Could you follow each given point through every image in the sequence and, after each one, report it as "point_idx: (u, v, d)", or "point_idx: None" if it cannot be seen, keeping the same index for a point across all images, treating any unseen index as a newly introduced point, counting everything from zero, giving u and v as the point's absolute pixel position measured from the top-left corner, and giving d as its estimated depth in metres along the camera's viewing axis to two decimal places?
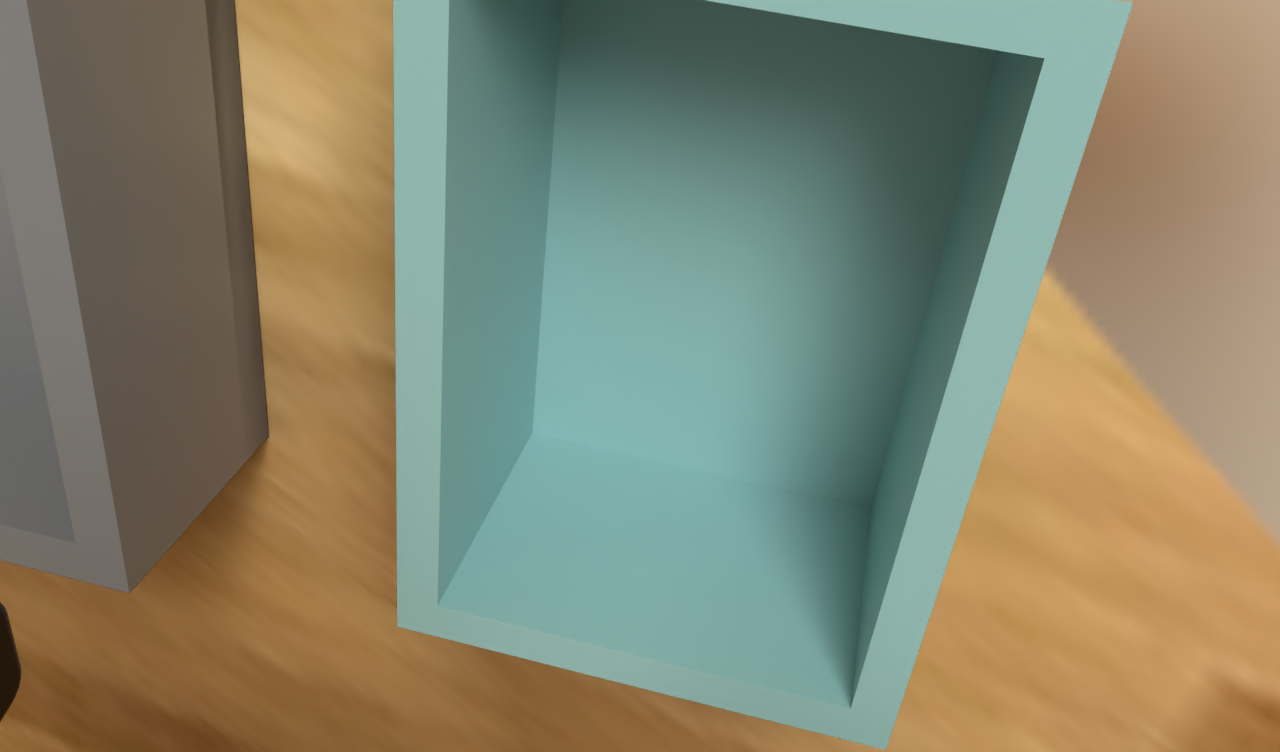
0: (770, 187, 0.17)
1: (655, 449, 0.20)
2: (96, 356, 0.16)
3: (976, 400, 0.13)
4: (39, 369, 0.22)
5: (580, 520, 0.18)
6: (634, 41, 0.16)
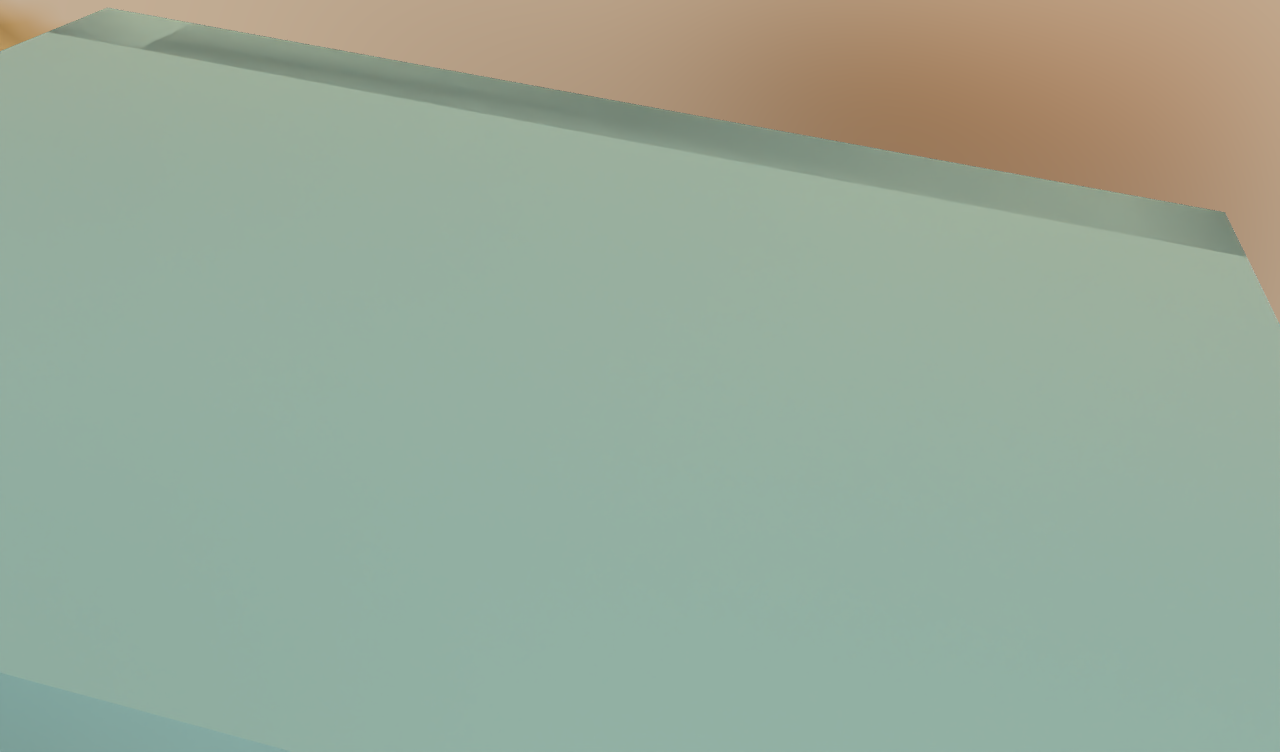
0: None
1: None
2: None
3: None
4: None
5: None
6: None
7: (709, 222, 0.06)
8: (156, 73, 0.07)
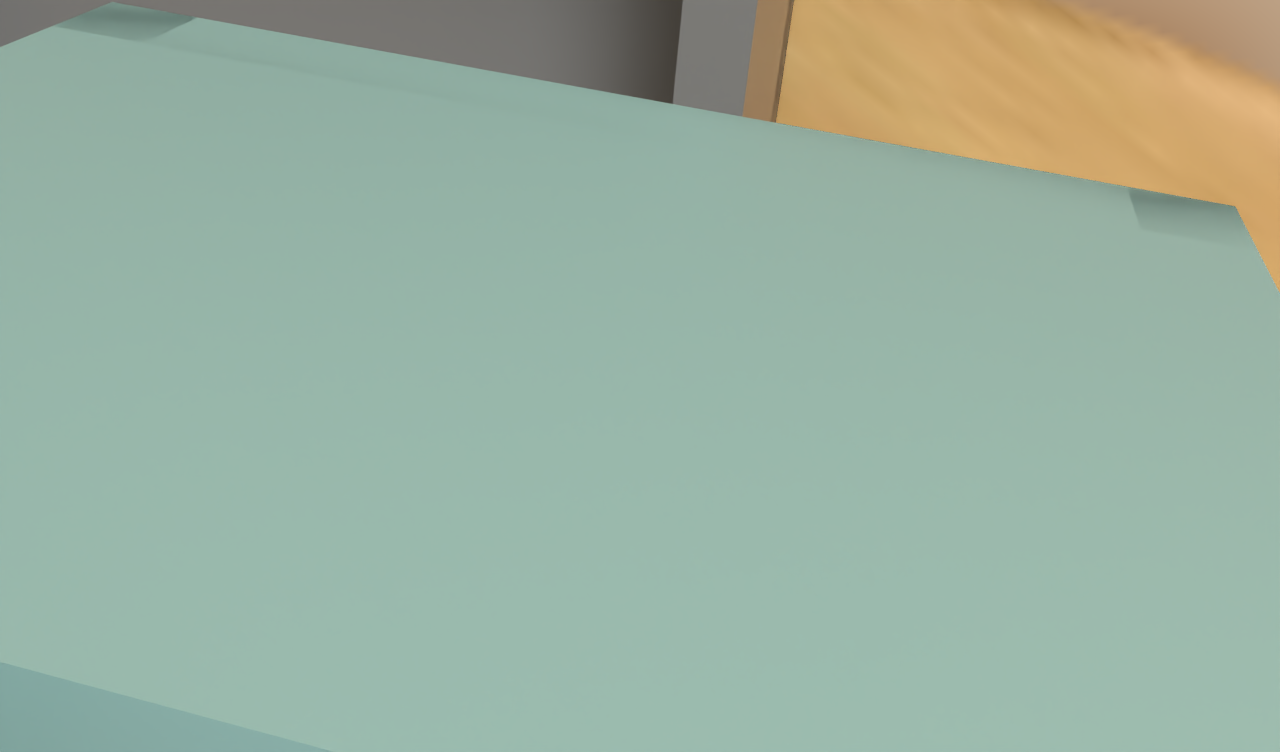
0: None
1: None
2: None
3: None
4: None
5: None
6: None
7: (718, 215, 0.06)
8: (162, 67, 0.07)
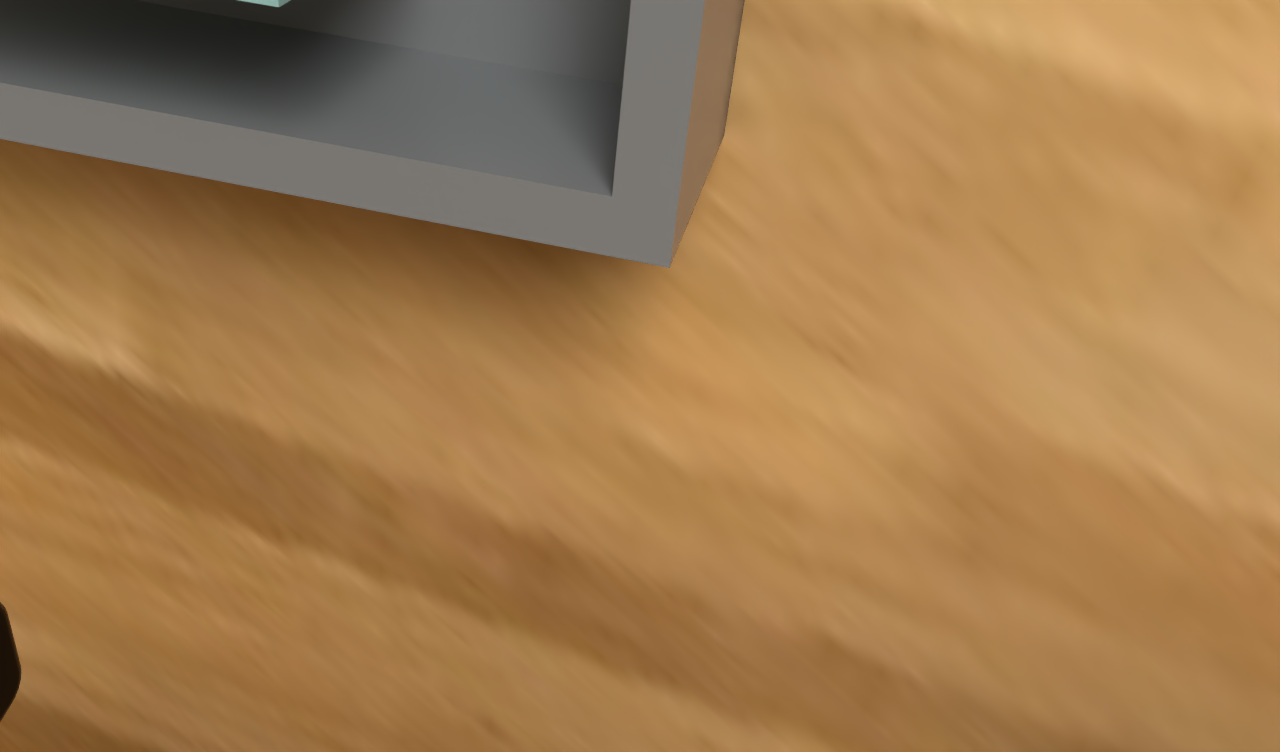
0: None
1: None
2: None
3: None
4: (455, 44, 0.17)
5: None
6: None
7: None
8: None
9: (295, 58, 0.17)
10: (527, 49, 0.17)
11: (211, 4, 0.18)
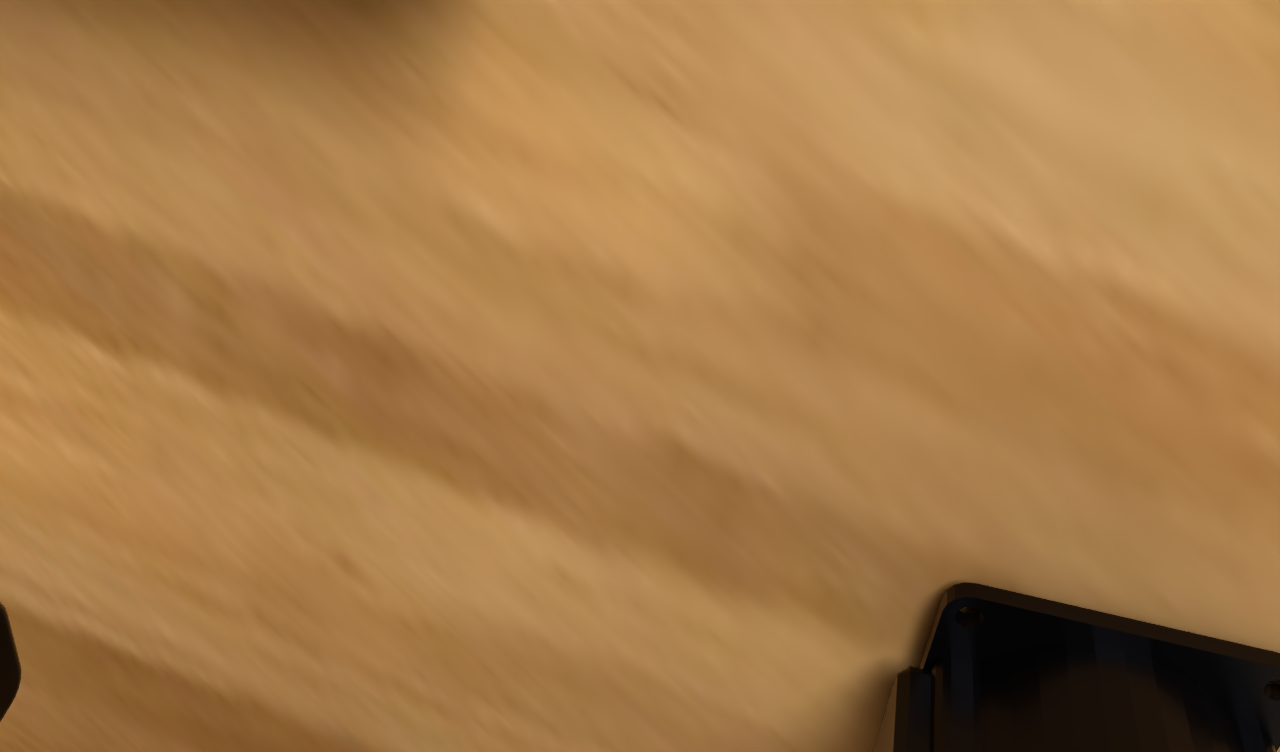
0: None
1: None
2: None
3: None
4: None
5: None
6: None
7: None
8: None
9: None
10: None
11: None
